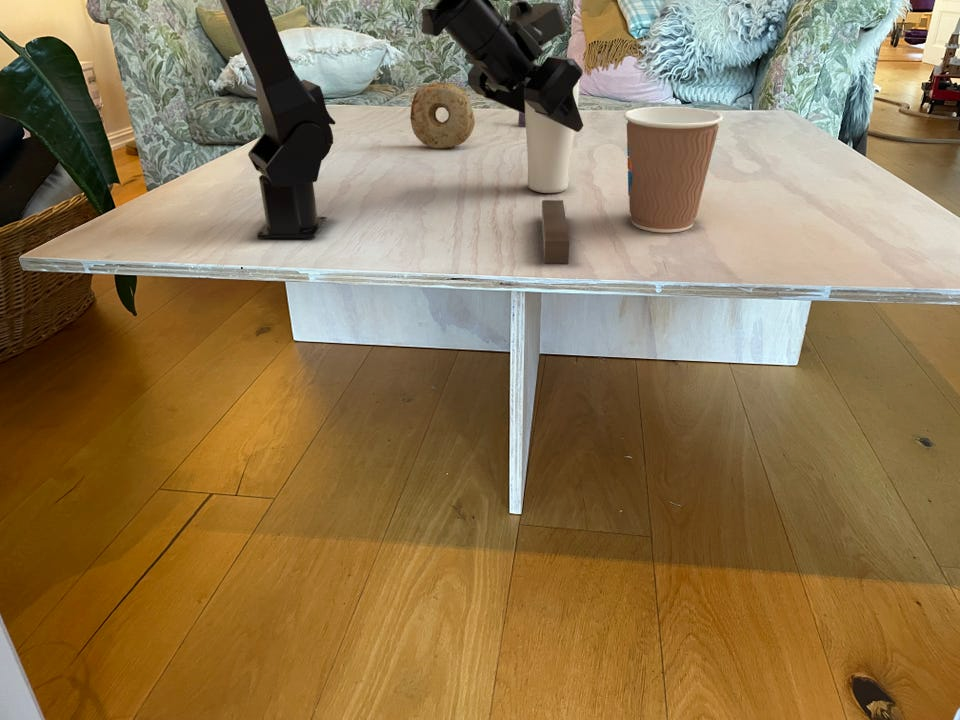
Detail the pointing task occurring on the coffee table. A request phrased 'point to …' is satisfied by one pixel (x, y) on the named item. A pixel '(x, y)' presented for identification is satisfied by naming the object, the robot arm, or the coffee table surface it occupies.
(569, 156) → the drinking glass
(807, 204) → the coffee table surface
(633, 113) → the coffee cup
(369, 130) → the coffee table surface
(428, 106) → the bagel
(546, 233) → the baton
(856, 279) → the coffee table surface
